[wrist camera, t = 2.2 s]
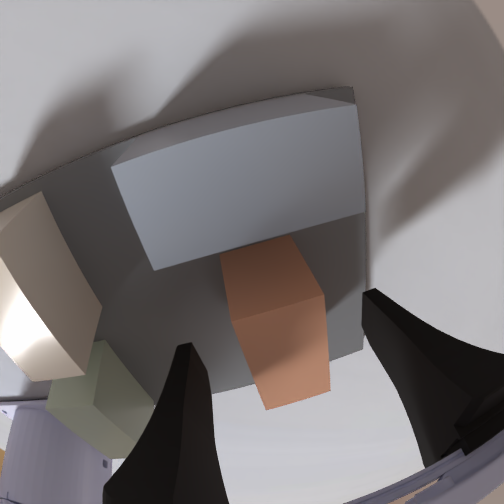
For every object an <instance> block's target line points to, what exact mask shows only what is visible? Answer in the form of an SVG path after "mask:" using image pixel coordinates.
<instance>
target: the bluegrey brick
mask: <svg viewBox="0 0 504 504" xmlns="http://www.w3.org/2000/svg"><path fill="white" fill-rule="evenodd" d="M111 169H112V172H113V174H114V177H115V180H116V182H117V185H118V188H119V190H120V193H121V195H122V198H123V200H124V203H125V205H126V208H127V210H128V213H129V215H130V217H131V220H132V222H133V225H134V227H135V229H136V232H137V234H138V236H139V238H140V241H141V243H142V245H143V248H144V250H145V252H146V254H147V256H148V259H149V261H150V263H151V265H152V267H153V270H154V271H155V270H159V269H162V268H166V267H169V266H173V265H176V264H180V263H183V262H187V261H190V260H194V259H197V258H201V257H204V256H208V255H211V254H215V253H218V252H222V251H225V250H229V249H233V248H236V247H240V246H243V245H247V244H250V243H254V242H257V241H261V240H265V239H268V238H272V237H275V236H279V235H282V234H286V233H290V232H293V231H297V230H301V229H304V228H308V227H311V226H315V225H319V224H322V223H326V222H330V221H333V220H337V219H340V218H344V217H348V216H351V215H355V214H359V213H362V212H366V203H365V185H364V171H363V159H362V148H361V138H360V129H359V120H358V112H357V105H356V104H352V103H347V102H343V101H338V100H333V99H328V98H323V97H318V96H313V95H307V94H300V95H295V96H289V97H284V98H278V99H273V100H268V101H263V102H259V103H254V104H250V105H245V106H241V107H237V108H233V109H229V110H225V111H221V112H217V113H213V114H209V115H206V116H202V117H198V118H195V119H192V120H188V121H185V122H181V123H178V124H175V125H172V126H169V127H165V128H162V129H159V130H156V131H153V132H150V133H147V134H145V135H142V136H139V137H138V138H137V139H136V140H135V141H134V142H133V143H132V144H131V145H130V146H129V147H128V148H127V149H126V151H125V152H124V153H123V154H122V155H121V156H120V157H119V158H118V159H117V161H116V162H115V163H114V164H113V165H112V166H111Z"/></svg>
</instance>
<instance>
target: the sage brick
mask: <svg viewBox="0 0 504 504" xmlns="http://www.w3.org/2000/svg"><path fill="white" fill-rule="evenodd" d="M45 409H46V410H47V411H48V412H50V413H51V414H52V415H53V416H54V417H55V418H57V419H58V420H59V421H60V422H61V423H63V424H64V425H65V426H66V427H67V428H69V429H70V430H71V431H72V432H74V433H75V434H76V435H78V436H79V437H80V438H82V439H83V440H84V441H86V442H87V443H88V444H90V445H91V446H92V447H94V448H95V449H97V450H98V451H99V452H101V453H102V454H104V455H105V456H107V457H108V458H110V459H120V458H127V456H128V455H129V454H130V452H131V451H132V449H133V448H134V446H135V445H136V443H137V442H138V440H139V438H140V436H141V435H142V433H143V431H144V429H145V428H146V426H147V424H148V422H149V420H150V418H151V416H152V414H153V411H154V401H153V399H152V398H151V397H150V396H149V395H148V394H147V392H146V391H145V390H144V389H143V388H142V386H141V385H140V384H139V383H138V382H137V380H136V379H135V378H134V377H133V376H132V374H131V373H130V372H129V371H128V369H127V368H126V367H125V365H124V364H123V363H122V362H121V360H120V359H119V358H118V356H117V355H116V354H115V352H114V351H113V350H112V348H111V347H110V346H109V344H108V343H107V342H106V340H101V341H97V342H93V345H92V349H91V353H90V357H89V362H88V366H87V371H86V375H81V376H75V377H68V378H61V379H53V380H52V384H51V388H50V391H49V395H48V399H47V403H46V408H45Z"/></svg>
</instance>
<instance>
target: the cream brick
mask: <svg viewBox="0 0 504 504" xmlns="http://www.w3.org/2000/svg"><path fill="white" fill-rule="evenodd" d="M101 311H102V305H101V304H100V302H99V300H98V299H97V297H96V295H95V294H94V292H93V290H92V289H91V287H90V285H89V284H88V282H87V280H86V279H85V277H84V275H83V273H82V272H81V270H80V268H79V266H78V264H77V262H76V261H75V259H74V257H73V255H72V253H71V251H70V249H69V248H68V246H67V244H66V242H65V240H64V238H63V236H62V234H61V232H60V230H59V228H58V226H57V224H56V222H55V220H54V217H53V215H52V213H51V211H50V209H49V207H48V204H47V202H46V200H45V198H44V195H43V193H42V191H41V192H39V193H37V194H35V195H33V196H30V197H28V198H27V199H25V200H23V201H21V202H19V203H17V204H15V205H13V206H11V207H9V208H7V209H5V210H4V211H2V212H0V346H1V347H2V348H3V350H4V351H5V352H6V353H7V354H8V355H9V357H10V358H11V359H12V360H13V361H14V362H15V363H16V364H17V366H18V367H19V368H20V369H21V370H22V371H23V372H24V373H25V374H26V375H27V376H28V377H29V378H30V379H31V380H32V381H33V382H37V381H45V380H53V379H61V378H68V377H75V376H81V375H86V371H87V366H88V362H89V357H90V353H91V349H92V345H93V341H94V337H95V333H96V329H97V325H98V322H99V318H100V314H101Z"/></svg>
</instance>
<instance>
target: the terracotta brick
mask: <svg viewBox="0 0 504 504" xmlns="http://www.w3.org/2000/svg"><path fill="white" fill-rule="evenodd" d="M219 255H220V261H221V267H222V273H223V278H224V284H225V290H226V296H227V301H228V307H229V312H230V318H231V322H232V325H233V328H234V330H235V333H236V336H237V338H238V341H239V343H240V346H241V349H242V351H243V354H244V356H245V359H246V361H247V364H248V367H249V369H250V372H251V374H252V377H253V379H254V382H255V384H256V387H257V389H258V392H259V394H260V396H261V399H262V401H263V404H264V406H265V409H266V410H269V409H273V408H276V407H280V406H283V405H287V404H290V403H294V402H297V401H300V400H304V399H307V398H310V397H313V396H316V395H319V394H322V393H325V392H328V391H330V370H329V352H328V336H327V322H326V310H325V298H324V293H323V291H322V290H321V288H320V286H319V284H318V283H317V281H316V279H315V277H314V275H313V274H312V272H311V270H310V268H309V267H308V265H307V263H306V261H305V260H304V258H303V256H302V255H301V253H300V251H299V249H298V248H297V246H296V244H295V243H294V241H293V239H292V237H291V236H290V235H286V236H283V237H279V238H275V239H272V240H268V241H265V242H261V243H258V244H254V245H250V246H247V247H243V248H240V249H236V250H233V251H229V252H226V253H222V254H219Z"/></svg>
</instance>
